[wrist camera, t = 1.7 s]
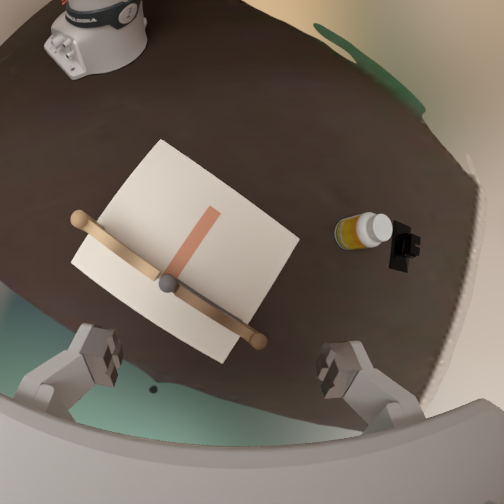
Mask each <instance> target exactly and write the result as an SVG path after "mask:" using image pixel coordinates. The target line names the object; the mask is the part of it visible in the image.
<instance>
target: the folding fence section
mask: <svg viewBox="0 0 504 504" xmlns="http://www.w3.org/2000/svg"><path fill="white" fill-rule="evenodd" d="M71 223H72V225H73V226H75V227H77V228H79V229H81V230H83V231H85V232H87V233H89V234H90V235H91V236H93V237H94V238H95V239H96V240H98V241H99V242H100V243H102V244H103V245H104V246H106V247H107V248H108V249H110V250H111V251H112V252H114V253H115V254H116V255H118V256H119V257H120V258H122V259H123V260H124V261H126V262H127V263H129V264H130V265H131V266H133V267H134V268H136V269H137V270H138V271H140V272H141V273H143V274H144V275H145V276H147V277H148V278H150V279H151V280H153V281H155V280H156V279H157V278H158V276H159V275H160V273H161V272H162V271H160V270H159V269H158V268H156V267H155V266H153V265H152V264H150V263H149V262H148V261H146V260H145V259H143V258H142V257H141V256H139V255H138V254H136V253H135V252H134V251H132V250H131V249H129V248H128V247H127V246H125V245H124V244H123V243H121V242H120V241H119V240H117V239H116V238H115V237H113V236H112V235H111V234H109V233H108V232H107V231H105V228H104V227H103V226H102V225H101V224H99V223H98V222H97V221H95V220H94V219H93V218H91V217H90V216H88V215H87V214H86V213H84V212H83V211H81V210H77V211H75V212H74V213H73V214H72V216H71Z"/></svg>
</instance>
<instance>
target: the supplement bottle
mask: <svg viewBox="0 0 504 504" xmlns="http://www.w3.org/2000/svg"><path fill="white" fill-rule="evenodd" d="M334 234H335V239H336V242H337V243H338V245H339V246H340V247H341V248H343V249H346V250H353V249H362V248H372V247H376V246H378V245H379V244H380V243H381V242H384V241H387V240H388V239H389V238H390V237H391V235H392V224H391V221H390V219H389V218H388V217H387V216H386V215H384V214H377V215H376V214H374V213H371V212H367V213H363V214H359V215H356V216H352V217H348V218H345V219H342V220H340V221H339V222H338V223H337V225H336V228H335V232H334Z"/></svg>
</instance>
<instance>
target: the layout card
mask: <svg viewBox="0 0 504 504" xmlns="http://www.w3.org/2000/svg"><path fill="white" fill-rule="evenodd" d="M97 222H98V223H99V224H101V225H102V226H103V227H104V228H105V231H107V232H108V233H109V234H111V235H112V236H113V237H115V238H116V239H117V240H119V241H120V242H121V243H123V244H124V245H125V246H127V247H128V248H129V249H131V250H132V251H134V252H135V253H136V254H138V255H139V256H141V257H142V258H143V259H145V260H146V261H148V262H149V263H150V264H152V265H153V266H155V267H156V268H158V269H159V270H160V271H162V272H161V273H160V275H159V276H158V278H157V279H156V280H155V281H153V280H151V279H150V278H148V277H147V276H145V275H144V274H143V273H141V272H140V271H138V270H137V269H136V268H134V267H133V266H131V265H130V264H129V263H127V262H126V261H124V260H123V259H122V258H120V257H119V256H118V255H116V254H115V253H114V252H112V251H111V250H110V249H108V248H107V247H106V246H104V245H103V244H102V243H100V242H99V241H98V240H96V239H95V238H94V237H93V236H91V235H90V234H88V235H87V237H86V239H85V240H84V242H83V243H82V245H81V247H80V248H79V250H78V251H77V253H76V255H75V256H74V258H73V260H72V261H71V263H72V264H73V265H75V266H76V267H77V268H78V269H80V270H81V271H82V272H83V273H85V274H86V275H87V276H88V277H90V278H91V279H92V280H94V281H95V282H96V283H98V284H99V285H100V286H102V287H103V288H104V289H106V290H107V291H108V292H110V293H111V294H112V295H114V296H115V297H117V298H118V299H119V300H121V301H122V302H124V303H125V304H127V305H128V306H129V307H131V308H132V309H134V310H135V311H137V312H138V313H140V314H141V315H143V316H144V317H146V318H147V319H149V320H150V321H152V322H153V323H155V324H156V325H158V326H159V327H161V328H163V329H164V330H166V331H167V332H169V333H171V334H172V335H174V336H175V337H177V338H179V339H180V340H182V341H184V342H185V343H187V344H189V345H190V346H192V347H194V348H195V349H197V350H199V351H201V352H202V353H204V354H206V355H208V356H209V357H211V358H213V359H215V360H217V361H218V362H220V363H222V364H223V362H224V361H225V359H226V358H227V356H228V355H229V353H230V352H231V350H232V348H233V347H234V345H235V344H236V342H237V341H238V339H239V337H240V336H239V335H237V334H236V333H234V332H232V331H231V330H229V329H227V328H226V327H224V326H222V325H221V324H219V323H217V322H216V321H214V320H213V319H211V318H209V317H208V316H206V315H205V314H203V313H201V312H200V311H198V310H197V309H195V308H193V307H192V306H190V305H189V304H187V303H186V302H184V301H183V300H181V299H180V298H178V297H177V296H175V295H174V292H173V291H172V292H170V293H165V292H163V291H162V290H161V289H160V288H159V280H160V278H161V277H162V276H163V275H164V274H170V275H172V277H173V278H174V279H175V281H176V284H177V282H178V283H180V284H181V285H183V286H184V287H186V288H187V289H189V290H190V291H192V292H193V293H195V294H196V295H198V296H199V297H201V298H202V299H204V300H205V301H207V302H208V303H210V304H212V305H213V306H215V307H216V308H218V309H219V310H221V311H223V312H224V313H226V314H227V315H229V316H231V317H232V318H234V319H236V320H241V321H243V322H244V323H246V324H247V325H248V323H249V322H250V320H251V319H252V317H253V315H254V314H255V312H256V311H257V309H258V307H259V306H260V304H261V302H262V301H263V299H264V298H265V296H266V294H267V293H268V291H269V289H270V288H271V286H272V285H273V283H274V281H275V280H276V278H277V276H278V275H279V273H280V271H281V270H282V268H283V266H284V265H285V263H286V261H287V260H288V258H289V256H290V255H291V253H292V251H293V250H294V248H295V246H296V245H297V243H298V241H299V240H300V239H299V238H298V237H296V236H295V235H294V234H293V233H291V232H290V231H289V230H287V229H286V228H285V227H283V226H282V225H281V224H279V223H278V222H277V221H275V220H274V219H273V218H271V217H270V216H269V215H267V214H266V213H265V212H263V211H262V210H261V209H259V208H258V207H257V206H255V205H254V204H252V203H251V202H250V201H248V200H247V199H246V198H244V197H243V196H242V195H240V194H239V193H237V192H236V191H235V190H233V189H232V188H230V187H229V186H228V185H226V184H225V183H223V182H222V181H221V180H219V179H218V178H216V177H215V176H214V175H212V174H211V173H209V172H208V171H207V170H205V169H204V168H202V167H201V166H199V165H198V164H197V163H195V162H194V161H192V160H191V159H189V158H188V157H186V156H185V155H184V154H182V153H181V152H179V151H178V150H176V149H175V148H173V147H172V146H170V145H169V144H167V143H166V142H165V141H163V140H162V139H160V140H159V141H158V143H157V144H156V145H155V146H154V147H153V148H152V150H151V151H150V152H149V153H148V154H147V155H146V157H145V158H144V159H143V160H142V162H141V163H140V164H139V165H138V166H137V168H136V169H135V170H134V171H133V173H132V174H131V175H130V176H129V178H128V179H127V180H126V182H125V183H124V184H123V186H122V187H121V188H120V190H119V191H118V192H117V194H116V195H115V196H114V198H113V199H112V200H111V202H110V203H109V205H108V206H107V207H106V209H105V210H104V212H103V213H102V215H101V216H100V217H99V219H98V220H97Z"/></svg>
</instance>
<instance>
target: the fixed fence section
mask: <svg viewBox="0 0 504 504" xmlns="http://www.w3.org/2000/svg"><path fill="white" fill-rule="evenodd" d="M159 288H160V289H161V290H162V291H163V292H165V293H170V292H172V291H173V292H174V295H175V296H177V297H178V298H180V299H181V300H183V301H184V302H186V303H187V304H189V305H190V306H192V307H193V308H195V309H197V310H198V311H200V312H201V313H203V314H205V315H206V316H208V317H209V318H211V319H213V320H214V321H216V322H217V323H219V324H221V325H222V326H224V327H226V328H227V329H229V330H231V331H232V332H234V333H236V334H237V335H239V336H241V337H242V338H243V339H244V340H245V341H247V342H248V343H249V344H250V345H251V346H253V347H254V348H255V349H258V350H261V349H263V348H265V347H266V345H267V338H266V336H265V335H263V334H261V333H260V332H258V331H257V330H255V329H254V328H252V327H250V326H249V325H247V324H246V323H244V322H243V321H241V320H236V319H234V318H232V317H231V316H229V315H227V314H226V313H224V312H223V311H221V310H219V309H218V308H216V307H215V306H213V305H212V304H210V303H208V302H207V301H205V300H204V299H202V298H201V297H199V296H198V295H196V294H195V293H193V292H192V291H190V290H189V289H187V288H186V287H184V286H183V285H181V284H180V283H178V282H177V284H176V281H175V279H174V278H173V277H172V275H170V274H164V275H163V276H162V277H161V278H160V280H159Z"/></svg>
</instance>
